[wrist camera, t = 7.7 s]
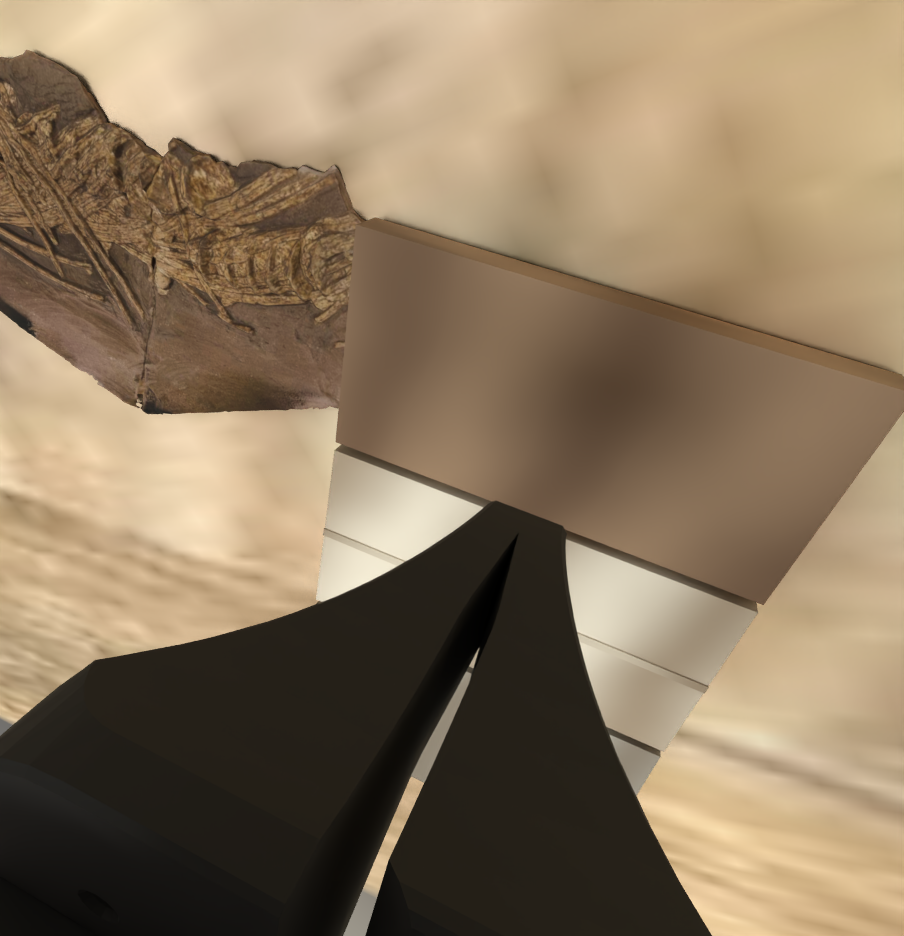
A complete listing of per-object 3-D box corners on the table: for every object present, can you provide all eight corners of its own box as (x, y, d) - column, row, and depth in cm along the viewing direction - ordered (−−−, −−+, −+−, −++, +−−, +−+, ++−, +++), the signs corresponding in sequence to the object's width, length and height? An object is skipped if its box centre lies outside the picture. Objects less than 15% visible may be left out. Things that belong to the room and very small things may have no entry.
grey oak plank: (660, 730, 22) (660, 757, 21) (596, 837, 25) (593, 864, 24) (330, 588, 25) (315, 604, 24) (310, 701, 28) (296, 720, 27)
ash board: (753, 587, 18) (758, 614, 17) (664, 724, 22) (663, 753, 21) (351, 436, 21) (333, 450, 20) (331, 581, 25) (315, 600, 23)
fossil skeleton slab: (466, 216, 17) (454, 219, 16) (381, 513, 22) (368, 528, 22) (-213, -46, 20) (-253, -55, 19) (-135, 268, 26) (-164, 272, 25)
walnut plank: (352, 426, 21) (335, 441, 20) (375, 217, 17) (355, 224, 16) (760, 578, 18) (763, 604, 17) (901, 375, 14) (916, 394, 13)
